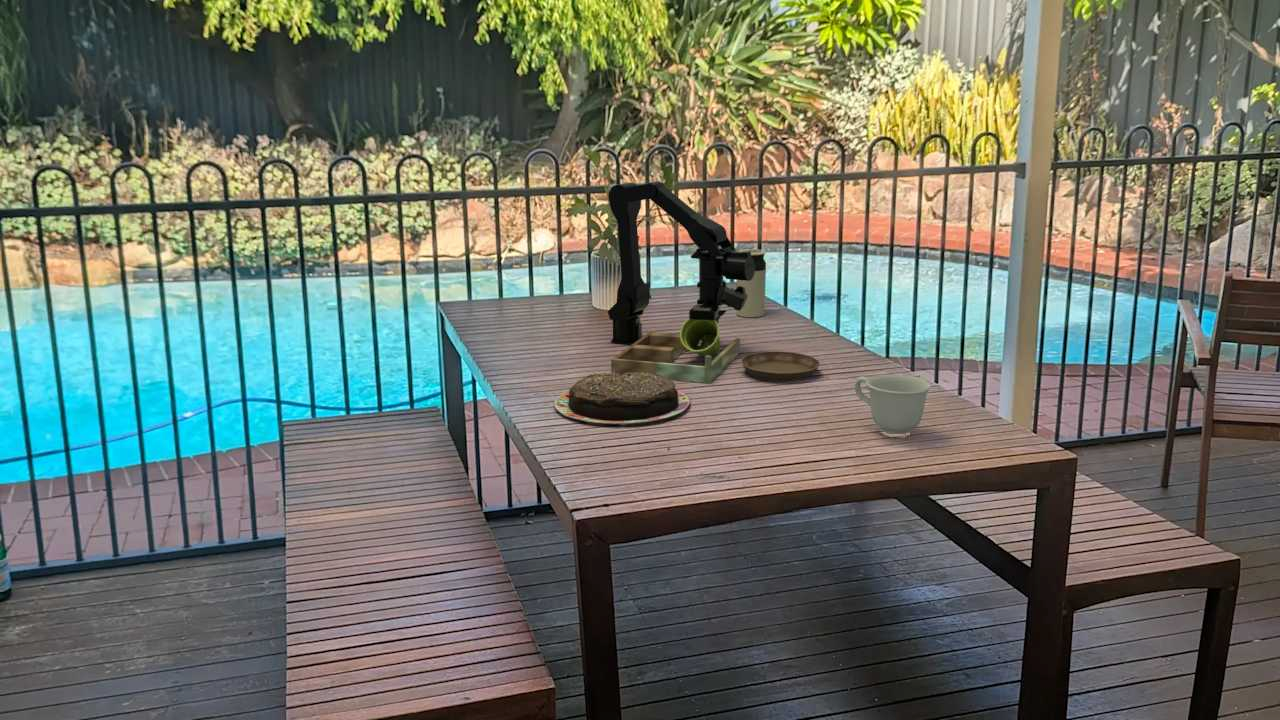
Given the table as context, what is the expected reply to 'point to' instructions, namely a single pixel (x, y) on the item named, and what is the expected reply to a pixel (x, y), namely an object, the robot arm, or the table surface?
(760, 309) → the travel mug
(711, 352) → the plant pot
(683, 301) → the table surface
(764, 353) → the plant saucer
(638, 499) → the table surface
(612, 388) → the chocolate cake
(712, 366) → the compartment box
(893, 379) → the teacup
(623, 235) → the robot arm
